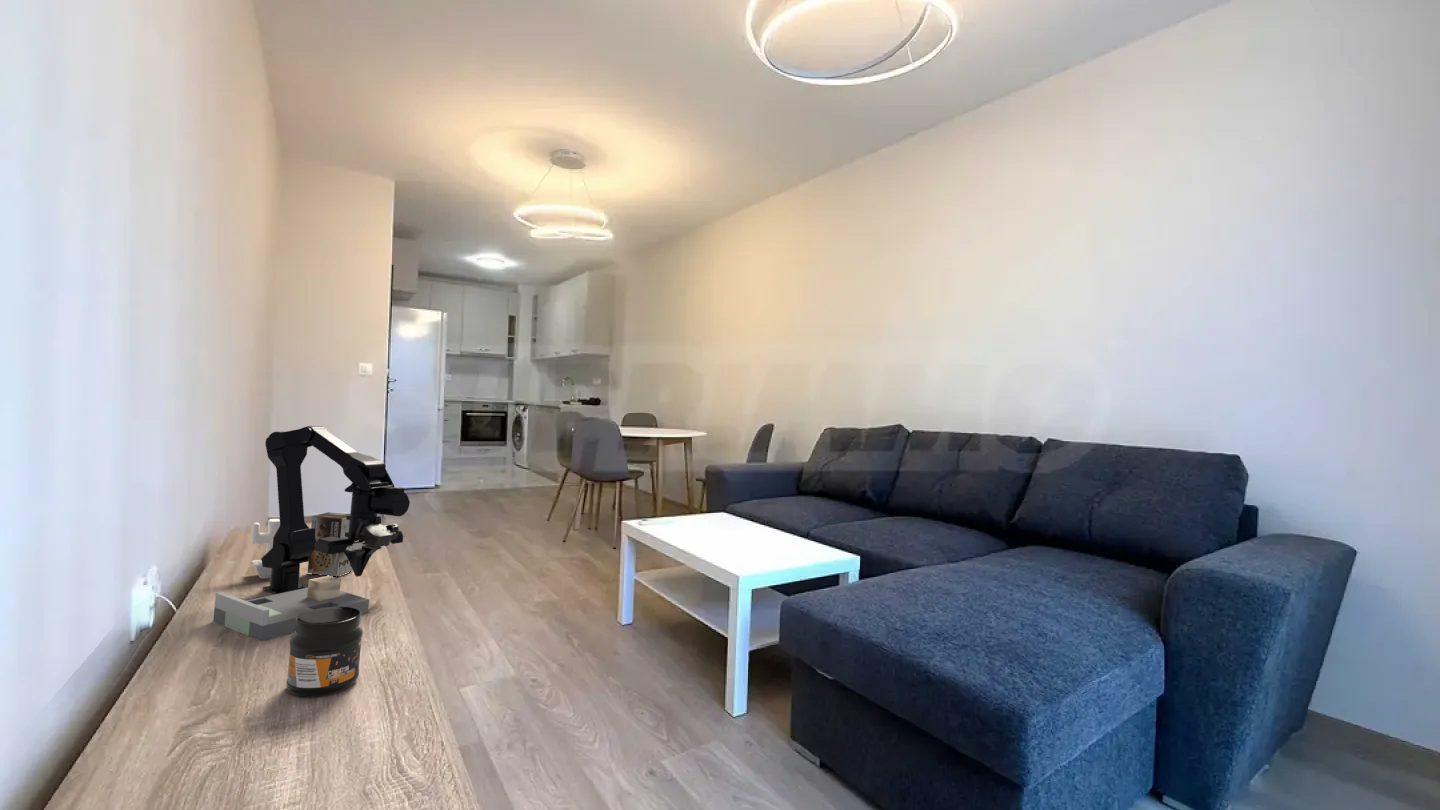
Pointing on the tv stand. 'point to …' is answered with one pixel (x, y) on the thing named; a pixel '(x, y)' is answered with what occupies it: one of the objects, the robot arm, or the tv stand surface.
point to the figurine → (264, 538)
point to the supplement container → (324, 651)
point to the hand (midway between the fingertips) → (358, 576)
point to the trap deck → (275, 611)
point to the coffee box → (325, 528)
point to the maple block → (324, 588)
